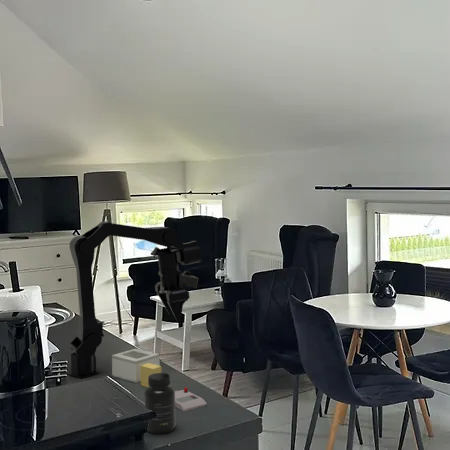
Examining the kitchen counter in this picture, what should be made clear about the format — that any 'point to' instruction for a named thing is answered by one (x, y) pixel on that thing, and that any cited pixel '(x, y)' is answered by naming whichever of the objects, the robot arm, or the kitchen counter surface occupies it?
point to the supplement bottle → (160, 403)
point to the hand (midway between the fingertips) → (174, 317)
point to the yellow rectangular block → (148, 372)
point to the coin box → (132, 364)
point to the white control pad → (187, 400)
